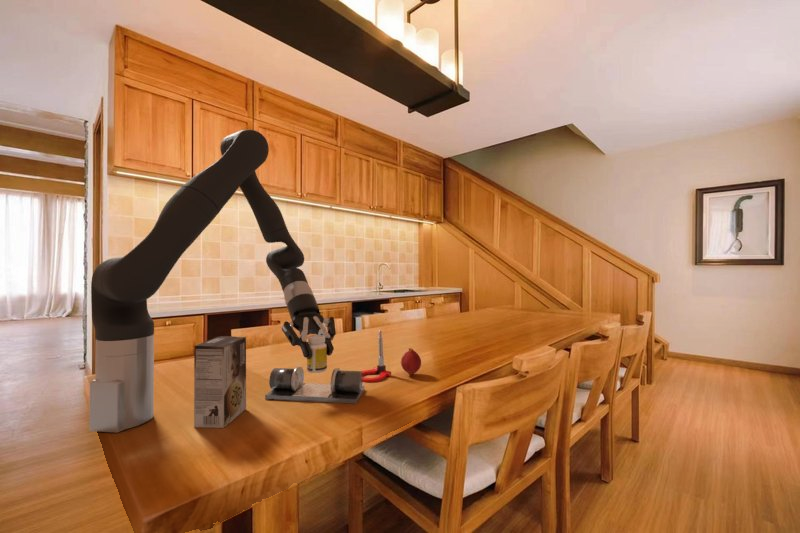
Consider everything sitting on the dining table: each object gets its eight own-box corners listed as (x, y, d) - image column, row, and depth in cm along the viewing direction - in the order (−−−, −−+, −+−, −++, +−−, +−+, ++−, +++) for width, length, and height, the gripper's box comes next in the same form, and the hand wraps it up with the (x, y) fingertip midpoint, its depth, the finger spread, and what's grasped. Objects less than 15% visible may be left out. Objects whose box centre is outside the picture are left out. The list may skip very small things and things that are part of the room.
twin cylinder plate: (364, 389, 87) (364, 364, 87) (355, 403, 78) (356, 375, 78) (282, 386, 90) (282, 361, 90) (265, 399, 81) (265, 371, 81)
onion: (408, 370, 103) (408, 344, 104) (424, 374, 100) (424, 347, 100) (397, 375, 99) (397, 348, 99) (413, 379, 95) (414, 351, 95)
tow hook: (370, 386, 91) (393, 376, 98) (368, 338, 91) (392, 332, 98) (350, 379, 97) (373, 370, 104) (348, 334, 97) (372, 328, 104)
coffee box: (218, 408, 75) (218, 335, 75) (247, 409, 75) (247, 336, 75) (192, 428, 66) (192, 345, 66) (224, 428, 66) (225, 345, 66)
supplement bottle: (329, 367, 86) (329, 334, 86) (323, 373, 82) (323, 338, 82) (311, 367, 87) (311, 334, 87) (304, 373, 82) (303, 338, 82)
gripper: (277, 294, 85) (296, 351, 76) (329, 291, 94) (351, 342, 85) (270, 312, 90) (287, 369, 80) (321, 308, 99) (341, 359, 89)
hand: (320, 355), depth 83 cm, fingers closed on supplement bottle, 4 cm apart
